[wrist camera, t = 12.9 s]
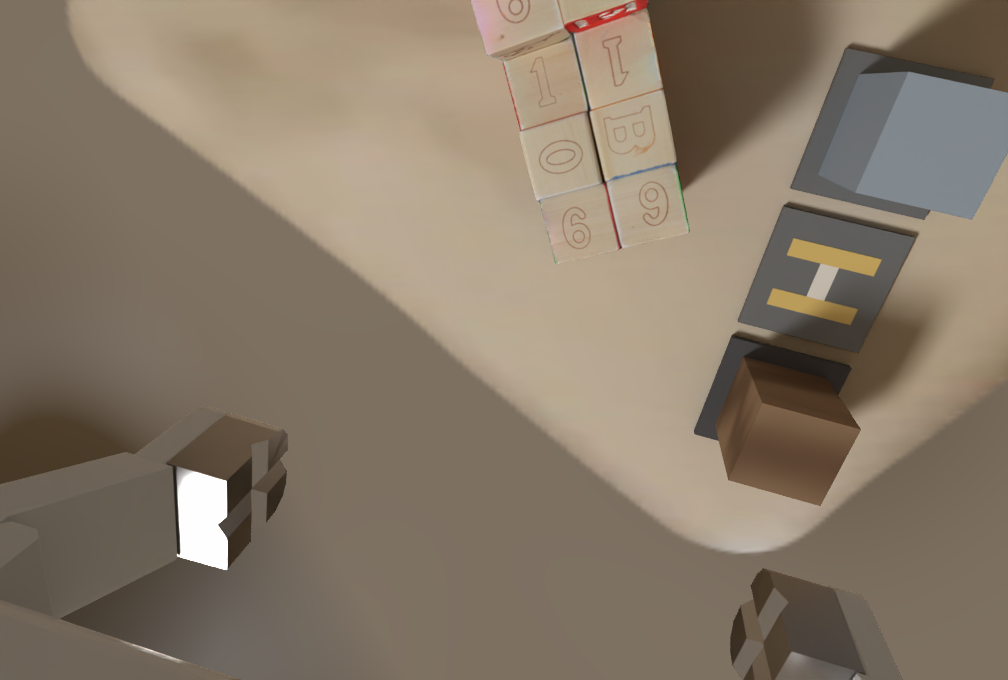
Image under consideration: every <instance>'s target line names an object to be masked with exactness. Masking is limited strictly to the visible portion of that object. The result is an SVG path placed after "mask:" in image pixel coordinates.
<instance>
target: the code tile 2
mask: <svg viewBox="0 0 1008 680" xmlns="http://www.w3.org/2000/svg"><path fill="white" fill-rule="evenodd" d="M892 72H913V73H917V74H922V75H927V76H932V77H936V78H941V79H946V80H950V81H955V82H960V83H965V84H969V85H974V86H979V87H983V88H988V89H990V87H991V85H992V83H993V81H994V79H991V78H987V77H982V76H977V75H972V74H968V73H963V72H958V71H953V70H949V69H944V68H939V67H934V66H930V65H925V64H920V63H915V62H911V61H906V60H901V59H896V58H892V57H887V56H882V55H877V54H873V53H868V52H863V51H858V50H854V49H849V48H845V51H844V53H843V56H842V58H841V61H840V63H839V66H838V68H837V71H836V73H835V76H834V79H833V81H832V84H831V86H830V89H829V91H828V94H827V96H826V99H825V101H824V104H823V106H822V109H821V111H820V114H819V116H818V119H817V121H816V124H815V127H814V129H813V132H812V134H811V137H810V139H809V142H808V144H807V147H806V149H805V152H804V154H803V157H802V159H801V162H800V164H799V167H798V169H797V172H796V175H795V177H794V180H793V182H792V185H791V187H790V188H791V189H794V190H799V191H803V192H807V193H811V194H816V195H820V196H824V197H828V198H833V199H837V200H841V201H846V202H850V203H854V204H858V205H863V206H867V207H871V208H875V209H880V210H884V211H888V212H892V213H897V214H901V215H905V216H910V217H914V218H918V219H922V220H925V218H926V216H927V214H928V212H929V210H928V209H924V208H920V207H915V206H911V205H907V204H902V203H898V202H894V201H889V200H885V199H881V198H876V197H872V196H868V195H864V194H859V193H855V192H853V191H851V190H849V189H847V188H845V187H843V186H840V185H838V184H836V183H834V182H832V181H830V180H828V179H826V178H824V177H822V176H820V175H818V173H819V171H820V168H821V166H822V164H823V161H824V159H825V156H826V154H827V151H828V149H829V147H830V144H831V142H832V139H833V137H834V134H835V132H836V129H837V127H838V125H839V122H840V120H841V117H842V115H843V112H844V110H845V108H846V105H847V103H848V100H849V98H850V95H851V93H852V91H853V88H854V86H855V83H856V81H857V78H858V76H859V74H873V73H892Z"/></svg>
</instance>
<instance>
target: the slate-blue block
mask: <svg viewBox="0 0 1008 680" xmlns="http://www.w3.org/2000/svg"><path fill="white" fill-rule="evenodd" d="M1007 153H1008V93H1007V92H1002V91H998V90H993V89H988V88H983V87H979V86H974V85H969V84H965V83H960V82H955V81H950V80H946V79H941V78H936V77H932V76H927V75H922V74H917V73H913V72H892V73H873V74H859V76H858V78H857V81H856V83H855V86H854V88H853V91H852V93H851V95H850V98H849V100H848V103H847V105H846V108H845V110H844V112H843V115H842V117H841V120H840V122H839V125H838V127H837V129H836V132H835V134H834V137H833V139H832V142H831V144H830V147H829V149H828V151H827V154H826V156H825V159H824V161H823V164H822V166H821V168H820V171H819V173H818V175H820V176H822V177H824V178H826V179H828V180H830V181H832V182H834V183H836V184H838V185H840V186H843V187H845V188H847V189H849V190H851V191H853V192H855V193H859V194H864V195H868V196H872V197H876V198H881V199H885V200H889V201H894V202H898V203H902V204H907V205H911V206H915V207H920V208H924V209H928V210H932V211H937V212H941V213H945V214H950V215H954V216H958V217H963V218H967V219H971V220H972V219H973V217H974V215H975V213H976V211H977V210H978V208H979V206H980V204H981V202H982V200H983V198H984V196H985V194H986V193H987V191H988V189H989V187H990V185H991V183H992V181H993V179H994V178H995V176H996V174H997V172H998V170H999V168H1000V166H1001V164H1002V162H1003V161H1004V159H1005V157H1006V155H1007Z"/></svg>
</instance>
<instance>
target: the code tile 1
mask: <svg viewBox="0 0 1008 680" xmlns="http://www.w3.org/2000/svg"><path fill="white" fill-rule="evenodd" d="M914 240H915V238H914V237H912V236H908V235H903V234H899V233H895V232H891V231H886V230H882V229H878V228H874V227H870V226H865V225H861V224H857V223H853V222H849V221H844V220H840V219H836V218H832V217H827V216H823V215H819V214H815V213H811V212H806V211H802V210H798V209H794V208H789V207H785V206H783V207H782V210H781V212H780V215H779V217H778V220H777V222H776V225H775V228H774V230H773V233H772V235H771V238H770V240H769V243H768V245H767V248H766V250H765V253H764V255H763V258H762V260H761V263H760V265H759V268H758V270H757V273H756V276H755V278H754V281H753V283H752V286H751V288H750V291H749V293H748V296H747V298H746V301H745V303H744V306H743V308H742V311H741V313H740V316H739V318H738V322H740V323H744V324H748V325H751V326H755V327H759V328H763V329H767V330H771V331H775V332H779V333H783V334H787V335H790V336H794V337H798V338H802V339H806V340H810V341H814V342H818V343H822V344H825V345H829V346H833V347H837V348H841V349H845V350H849V351H853V352H857V353H858V352H859V350H860V348H861V346H862V344H863V342H864V340H865V338H866V336H867V334H868V332H869V330H870V328H871V326H872V324H873V322H874V320H875V318H876V316H877V314H878V312H879V310H880V308H881V306H882V304H883V302H884V300H885V298H886V296H887V294H888V292H889V290H890V288H891V286H892V284H893V282H894V280H895V278H896V276H897V274H898V272H899V270H900V268H901V266H902V264H903V262H904V260H905V258H906V256H907V254H908V252H909V250H910V248H911V246H912V244H913V242H914Z"/></svg>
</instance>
